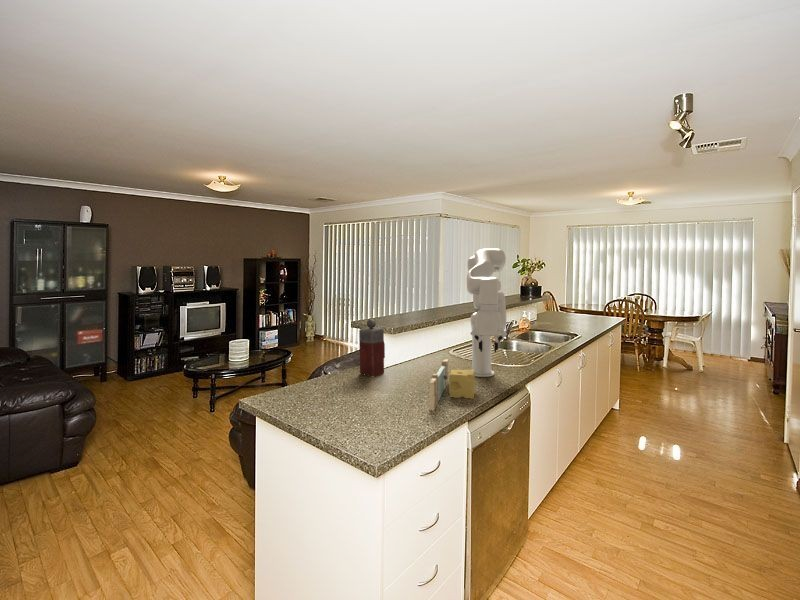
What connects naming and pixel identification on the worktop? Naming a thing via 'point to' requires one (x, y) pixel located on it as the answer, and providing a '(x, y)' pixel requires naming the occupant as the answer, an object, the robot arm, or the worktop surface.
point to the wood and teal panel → (435, 386)
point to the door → (441, 381)
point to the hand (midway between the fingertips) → (488, 350)
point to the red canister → (371, 349)
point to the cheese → (462, 383)
